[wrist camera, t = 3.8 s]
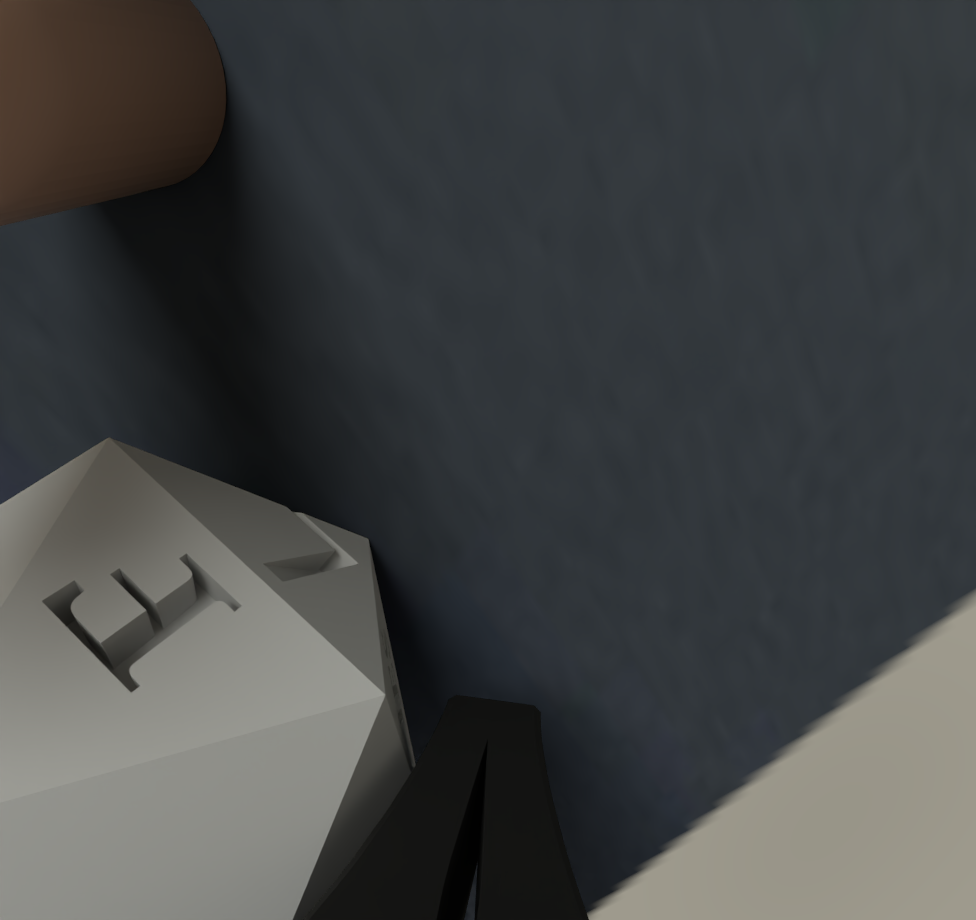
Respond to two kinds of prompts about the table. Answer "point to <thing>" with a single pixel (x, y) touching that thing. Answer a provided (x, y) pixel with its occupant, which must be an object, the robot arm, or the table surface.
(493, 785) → the robot arm
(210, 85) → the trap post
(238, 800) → the die
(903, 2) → the table surface
